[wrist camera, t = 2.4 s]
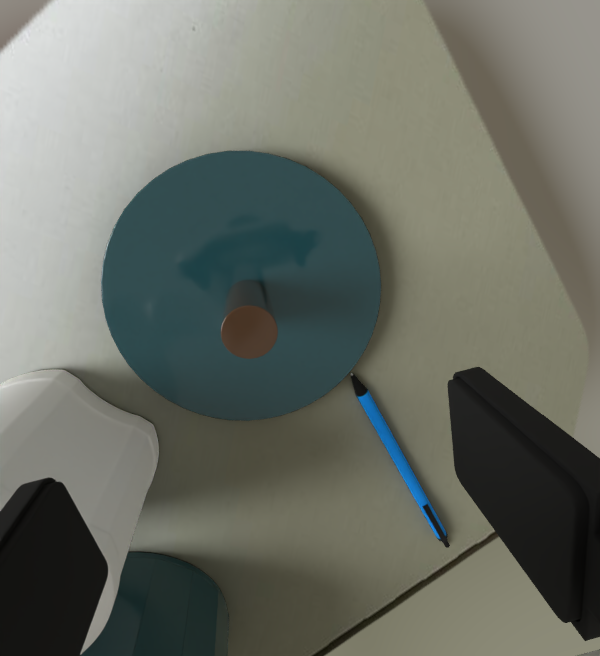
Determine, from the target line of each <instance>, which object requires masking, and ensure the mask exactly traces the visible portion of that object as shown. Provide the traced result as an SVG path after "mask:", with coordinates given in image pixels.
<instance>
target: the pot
mask: <svg viewBox="0 0 600 656" xmlns="http://www.w3.org/2000/svg"><path fill="white" fill-rule="evenodd" d="M228 631H229V614H228V612H227V605H226V602H225V598H224V596H223V594H222V592H221V590H220V589H219V587H218V586H217V585H216V583H215V582H214V581H213V580H212V579H211V578H210V577H209V576H208V575H207V574H205V573H204V572H202V571H201V570H200V569H198V568H196V567H195V566H193V565H191V564H189V563H187V562H184V561H182V560H179V559H177V558H173V557H169V556H166V555H161V554H154V553H145V552H128V553H127V556H126V560H125V563H124V566H123V569H122V572H121V575H120V582H119V588H118V592H117V595H116V598H115V601H114V605H113V608H112V611H111V614H110V616H109V619H108V621H107V623H106V625H105V627H104V628H103V630H102V632H101V633H100V635H99V636H98V637H97V638H96V640H95V641H94V642H93V643H92V644H91V645H90V646H89V647H88V648H87V649H86V650H85V651H84V652H83V653H82V654H81V655H80V656H228Z"/></svg>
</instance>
